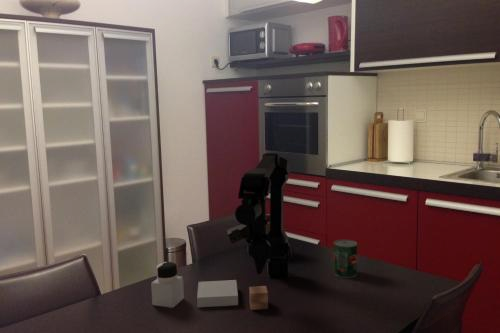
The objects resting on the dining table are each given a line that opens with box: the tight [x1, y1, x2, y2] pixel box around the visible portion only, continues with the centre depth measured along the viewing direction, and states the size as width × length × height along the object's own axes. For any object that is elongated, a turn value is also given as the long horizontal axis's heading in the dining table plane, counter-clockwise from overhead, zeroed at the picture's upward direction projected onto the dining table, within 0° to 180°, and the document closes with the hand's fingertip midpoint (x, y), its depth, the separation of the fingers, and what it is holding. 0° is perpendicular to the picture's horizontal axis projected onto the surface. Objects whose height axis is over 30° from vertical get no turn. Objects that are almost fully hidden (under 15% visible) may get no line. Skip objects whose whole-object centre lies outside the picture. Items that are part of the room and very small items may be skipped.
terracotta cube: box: [248, 285, 269, 311], centre depth 134 cm, size 5×5×5 cm
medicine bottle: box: [150, 261, 185, 309], centre depth 138 cm, size 7×7×12 cm
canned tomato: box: [333, 239, 358, 279], centre depth 157 cm, size 8×8×11 cm
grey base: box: [196, 279, 239, 308], centre depth 140 cm, size 12×12×3 cm
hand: (257, 268), depth 133 cm, fingers open, 9 cm apart
